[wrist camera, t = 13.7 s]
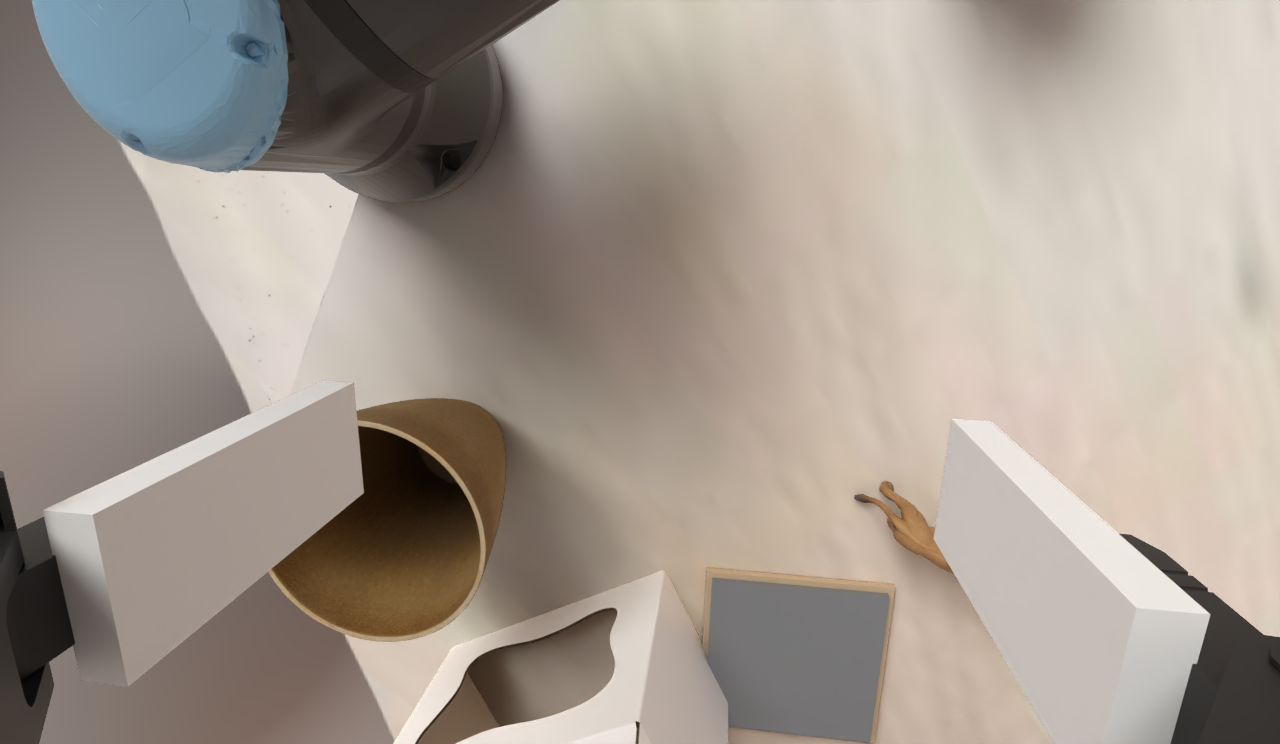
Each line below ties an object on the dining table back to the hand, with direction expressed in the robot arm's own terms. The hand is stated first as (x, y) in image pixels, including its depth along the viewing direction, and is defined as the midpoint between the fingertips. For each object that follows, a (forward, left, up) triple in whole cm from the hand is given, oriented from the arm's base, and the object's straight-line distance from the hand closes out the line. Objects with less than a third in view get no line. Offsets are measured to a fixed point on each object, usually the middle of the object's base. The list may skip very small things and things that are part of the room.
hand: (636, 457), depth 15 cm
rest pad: (+9, -32, -37) cm, 50 cm away
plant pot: (-19, -15, -37) cm, 44 cm away
